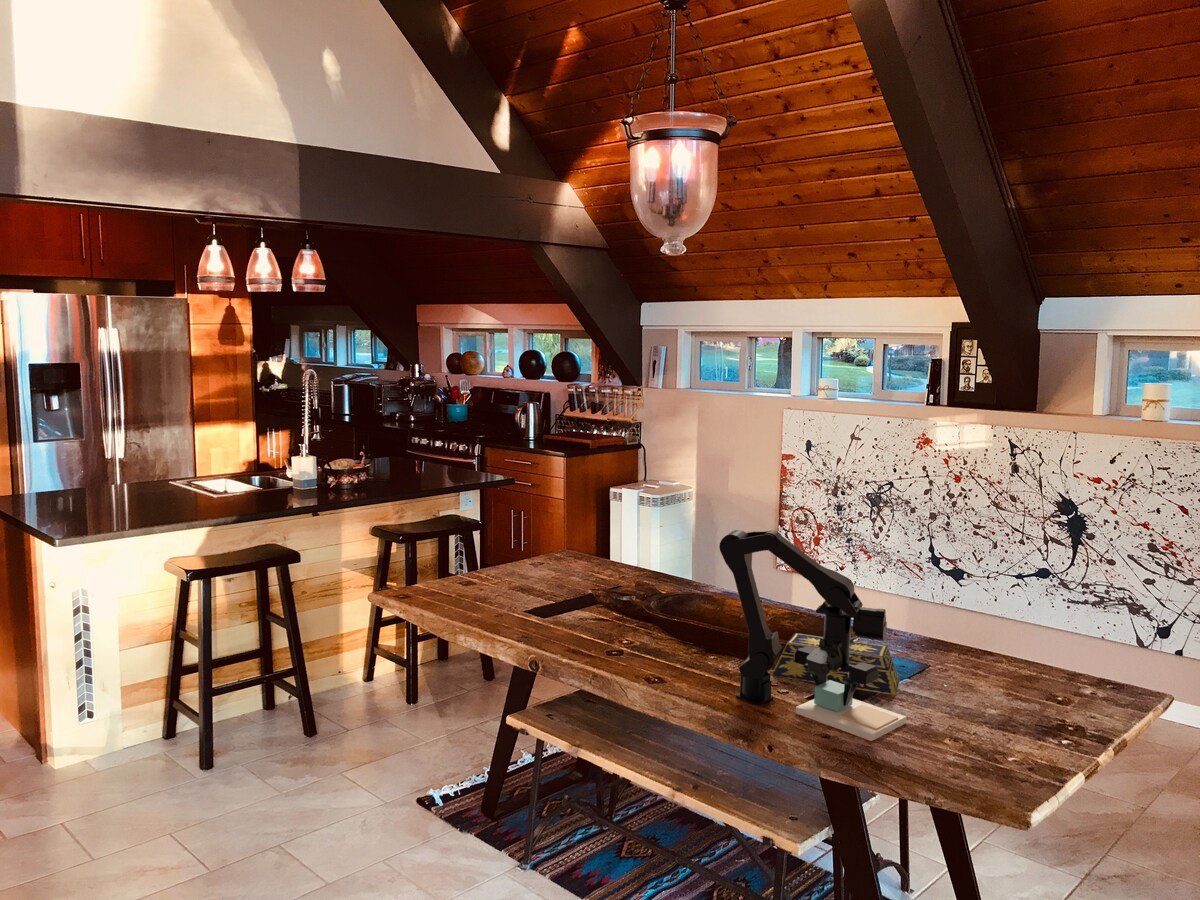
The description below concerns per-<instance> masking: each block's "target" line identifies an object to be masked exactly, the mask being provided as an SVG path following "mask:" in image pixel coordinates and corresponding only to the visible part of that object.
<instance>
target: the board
mask: <svg viewBox="0 0 1200 900" xmlns="http://www.w3.org/2000/svg"><path fill="white" fill-rule="evenodd" d="M795 714H797V715H800V716H802V717H804V718H805V717H806V718H808V719H811V720H814V721H817V723H818V722H819V723H821V724H824V725H827V726H830V727H833V728H835V729H838V730H840V731H843V732H845V733H849V734H851V735H854V736H857V737H859V738H862V739H864V740H867V741H870V742H872V741H873V742H874V740H877V739H878V738H881V737H883V736H885V735H886V734H888V733H890V732H892V731H894V730H895V729H897V728H899V727H901V726H903V725H905V724H907V716H906V715H904V714H900V713H897V712H894V711H890V710H888V709H885V708H883V707H879V706H876V705H873V704H871V703H867V702H865V701H863V700H862V701H861V700H859V699H856V698H853V700H852V705H851V706H849V707H846V708H844V709H842V710H840V711H838V712H836V711H834V710H831V709H828V708H825V707H823V706H820V705H817V704H814V698H813V699H810V700H809V701H806V702H804V703H802V704H799V705H797V706H796V707H795Z"/></svg>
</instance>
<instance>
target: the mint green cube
mask: <svg viewBox="0 0 1200 900" xmlns="http://www.w3.org/2000/svg"><path fill="white" fill-rule="evenodd" d="M844 686H845V685H844V684H841V683H838V682H835V681H832V680H829V681H827V682H824V683H822V684H820V685H817V686H816V685H815V686H814V698H813V699H814V704H817V705H820V706H823V707H825V708H828V709H831V710H834V711H836V712H838V711H840V710H842V709H844V708H846V707H849V706H851V705H852V700H853V699H854V698H853V697H854V695H853V696H852V698H851V700H850V701H849V703H848V705H847V706H844V702H843V698H844Z"/></svg>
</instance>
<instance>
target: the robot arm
mask: <svg viewBox="0 0 1200 900" xmlns="http://www.w3.org/2000/svg"><path fill="white" fill-rule="evenodd" d="M718 547H719V551H720V554H721V556H722V559H723V560H724V563H725V564H726V566H727V567H728V568H729V570H730V571H731V572H732V574H733V577H734V578H733V579H734V582H735V586H736V590H737V594H738V598H739V600H740V604H741V608H742V611H743V612H742V613H743V616H744V619H745V623H746V628H747V631H748V642H747V643H748V644H747V650H748V656H747V658H746V659H745V660H743V662H742V663H741V665H740V666H739V667H738V670H739V673H740V682H739V683H740V684H739V687H740V688H739V692H738V693H736V694H735V698H738V699H740V700H743V701H745V702H748V703H752V704H754V705H760V704H763V703H765V702H767V701H770V700H772V699H774V698H775V696H774V695H773V694H772V680H771V677H772V676H771V675H772V673H769V672H768V671H770V670H771V669H772V668H773V667H775V665H776V664H777V662H778V660H779V658H780V656H781V654H782V653H781V652H782V651H781V650H782V649H784V648H783V645H782V643H780V638H779V637H780V635H779V631H774V632H772V631H771V629H770V628H769V626H768V624H767V621H766V617H765V614H764V613H765V612H764V608H763V606H762V605H763V604H762V602H761V598H760V594H759V590H758V587H757V583H756V578H755V576H754V571H753V569H752V566H753V565H752V564H753V554H754V553H758V552H765V551H769V552H770V553H771V554H773V555H774V556H775V557H776V558H778V559H780V560H781V561H782V562H783V563H784V564H786V565H787V566H789V567H790V568H791V569H792V570H794V572H796V573H798V574H799V575H801V576H802V577H803V578H804V579H806V580H807V581H808V582H809V583H810V584H811V585H812V586H813V588H814V589H815V590H816V593H818V595H820V597H822V599H823V600H824V601H823V603H822V604H820V605H818V607H817V608H816V609H815V613H817V614H822V615H824V624H823V636H821V637H822V638H820V641H819V646H818V648H814V647H811V646H806V647H803V648H800V649H798V650H796V651H795V653H794V662H795V663H798V664H802V665H805V664H806V665H805V666H804V668H805V669H807V670H808V671H809V672H810V673H811V674H812V676H813V679H814V681H815V682H814V684H815V686H817V685H820V684H822V683H824V682H826V677H827V674H828V673H829V671H830V670H831V671H834V672H836V671H837V670H841V671H845V672H848V677H846V678H844V679H842V681H843V682H844V685H845V686H844V698H843V702H844V706H847V705H848V703H849V701H850V700H851V698H852V696H853V697H854V694H855V692H856V690H857V689H856V688H857V687H858V685H859V684H868V683H870V682H872V681H875V680H877V679H879V671H878V669H877V667H876V666H873V665H870V664H867V663H863V662H862V663H860V664H857V665H852V664H849V661H852V656H850V655H849V649H850V644H851V643H853V641H854V638H853V637H851V632H853V633H854V636H857V638H858V639H859V638H860V639H867V640H872V641H873V640H874V641H881V642H884V641H885V640H886V634H887V628H888V627H887V625H888V621H887V615H886V612H887V611H886V609H884V608H871V607H863V605H864V604H863V602H862V601H861V599H860V598H859V596H858V595H857V593H856V591H855V585H854V582H853V581H852V580H851V578H849V577H847V576H845V575H843V574H842V573H840V572H837V571H835V570H833V569H830V568H827V567H824V566H823V565H821V564H819V562H817V561H816V560H814V559H813V558H812V557H810V556H809V555H808V554H806V553H805V552H804V551H802V550H801V549H800V548H798V547H797V546H796V545H794V544H793V543H792V542H790V540H788V539H786V538H785V537H784V536H782V534H781V533H780V532H779V531H777V530H775V529H771V530H767V531H750V532H749V531H748V532H746V531H744V530H742V529H735V530H732V531H730V532H729V533H728V534H726V535H725V536H724V537H723V538H721V540H720V542H719V546H718ZM852 619H853V620H852ZM851 627H852V628H851ZM851 629H852V631H851Z"/></svg>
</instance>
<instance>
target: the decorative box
mask: <svg viewBox="0 0 1200 900" xmlns="http://www.w3.org/2000/svg"><path fill="white" fill-rule="evenodd" d="M822 637H823V636H820V635H812V634H808V633H807V634H805V633H799V632H794V633H793V634H792V636H791V637H790V639H789V640H788V641H787V642H786V645H785V646H784V648H783V651H781V652H782V653H781V654H780V657H779V659H778V660H777V662H776V664H775V666H774V669H773V670H772V673H771V677H779V678H783V679H784V678H785V679H790V680H796V681H802V682H803V681H804V682H809V683H815V681H814V679H813V676H812V674H811V673H810V672H809V671H808V670H807V669H805V668H804V666H805V665H806V664H805V665H802V664H798V663H795V662H794V653H795V651H796V650H798V649H800V648H803V647H806V646H811V647H814V648H818V646H819V641H820V638H822ZM849 655H850V656H852V661H849V664H852V665H857V664H860V663H862V662H863V663H867V664H870V665H873V666H876V667H877V669H878V671H879V679H877V680H875V681H872V682H870V683H868V684H859V685H858V687H857V688H856V690H859V691H866V692H872V693H873V692H874V693H879V694H884V695H891V696H897V695H898V690H899V684H900V682H901V681H900V677H899V674H898V671H897V669H896V666H895V663H894V661H893V658H892V655H891V652H890V650H889V646H888V645H884V644H876V643H871V642H864V641H863V642H862V641H855V640H853V643H851V644H850V649H849ZM846 677H848V672H845V671H841V670H837V671H836V672H834V671H831V670H830V671H829V673H828V674H827V677H826V682H827V681H829V680H832V681H835V682H838V683H841V684H844V682H843V681H842V679H844V678H846Z"/></svg>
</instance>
